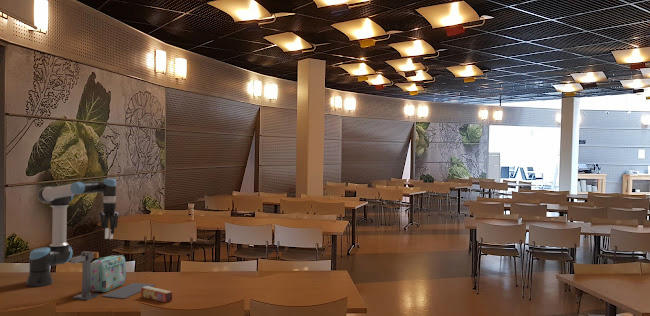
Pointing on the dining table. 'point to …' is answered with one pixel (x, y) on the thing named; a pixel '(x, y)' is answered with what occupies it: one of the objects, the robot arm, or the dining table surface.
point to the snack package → (156, 294)
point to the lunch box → (107, 273)
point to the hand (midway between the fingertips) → (108, 238)
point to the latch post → (86, 279)
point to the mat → (127, 290)
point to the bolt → (84, 257)
